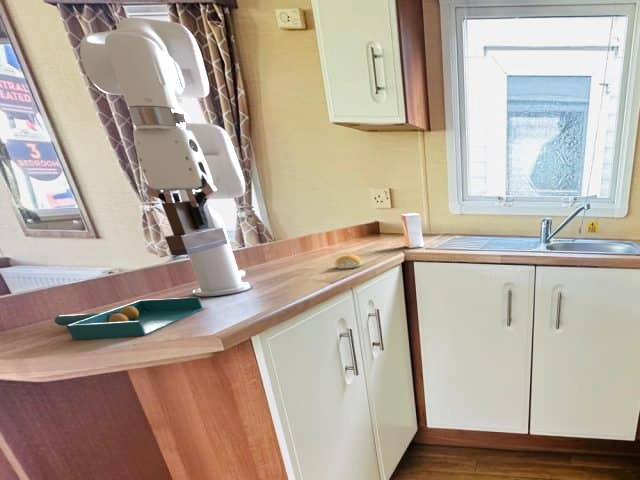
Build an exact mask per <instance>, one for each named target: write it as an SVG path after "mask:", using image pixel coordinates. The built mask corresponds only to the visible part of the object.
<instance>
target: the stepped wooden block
mask: <svg viewBox="0 0 640 480" xmlns="http://www.w3.org/2000/svg"><path fill="white" fill-rule="evenodd" d="M205 204H206V205H205V207H203V208H204V211H205V214H206V217H207V220H208V228H206V229H196V227H195V225H194V222H193V219H192V216H191V213H190V210H189V209H190V208H192V206H191V204H190V201H180V202H170V203H165V202H162V203H161V205H162V208H163V210H164V213H165V216H166V218H167V221H168V223H169V226H170V229H171V231H172V234H171V235H166V236H164V239H165V242H166V244H167V247H168V250H169V252H170V254H171V256H188V255H189V254H192V253H196V252H199V251H203V250H207V249H210V248H214V247H217V246H221V245H224V244H228V243H227V239H226V236H225V233H224V230H223V227H216V228H215V226H214V223H213V220H212V217H211V214H210V211H209V208H208V203H207V201H206V203H205Z"/></svg>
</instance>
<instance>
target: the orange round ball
mask: <svg viewBox="0 0 640 480" xmlns="http://www.w3.org/2000/svg"><path fill="white" fill-rule="evenodd" d="M124 306H125V305H124ZM121 314H123V315H125V316H126V317H127V318H128V319H129V320H133V319H136V318H137V317H138V316H139V312H138V310H137V309H136V308H135V307H132V306H125V307H123V308H122V309H121Z"/></svg>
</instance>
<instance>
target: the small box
mask: <svg viewBox="0 0 640 480" xmlns="http://www.w3.org/2000/svg"><path fill="white" fill-rule="evenodd" d="M400 218H401V225H402V232H403V233H402V234H403V239H404V247H407V248H409V249H415V248H423V247H425V244H424V236H423V229H422V221H421V214H420V213H404V214H400Z"/></svg>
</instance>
